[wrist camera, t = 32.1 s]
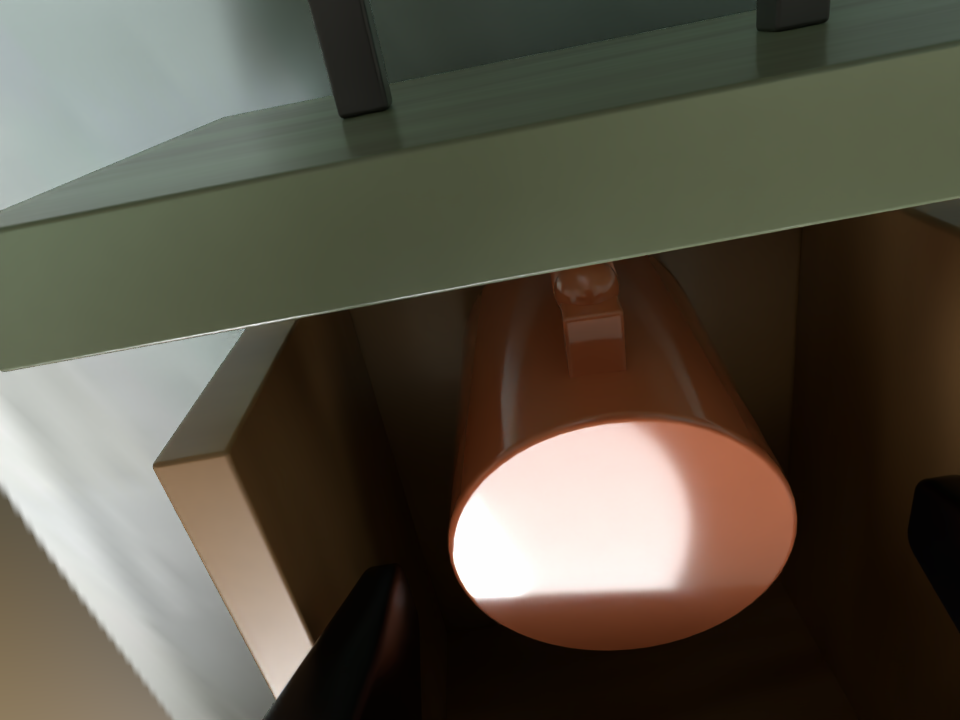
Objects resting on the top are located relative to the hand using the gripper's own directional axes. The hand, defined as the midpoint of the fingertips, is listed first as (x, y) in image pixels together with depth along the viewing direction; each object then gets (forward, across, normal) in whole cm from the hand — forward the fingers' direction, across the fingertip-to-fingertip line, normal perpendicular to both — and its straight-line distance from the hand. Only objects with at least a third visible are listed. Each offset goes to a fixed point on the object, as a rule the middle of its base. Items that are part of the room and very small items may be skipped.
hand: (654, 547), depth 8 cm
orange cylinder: (+5, 0, 0) cm, 5 cm away
